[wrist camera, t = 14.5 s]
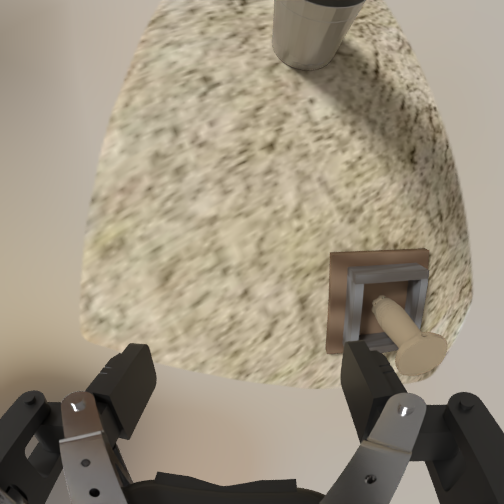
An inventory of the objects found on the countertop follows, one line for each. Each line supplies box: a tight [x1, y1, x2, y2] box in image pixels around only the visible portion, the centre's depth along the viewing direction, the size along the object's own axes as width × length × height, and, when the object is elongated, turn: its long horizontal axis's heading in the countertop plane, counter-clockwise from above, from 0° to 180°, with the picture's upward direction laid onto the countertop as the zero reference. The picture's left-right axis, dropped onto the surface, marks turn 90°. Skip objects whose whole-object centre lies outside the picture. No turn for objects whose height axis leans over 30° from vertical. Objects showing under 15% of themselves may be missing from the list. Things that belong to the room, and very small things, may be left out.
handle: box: [372, 295, 447, 376], centre depth 33 cm, size 5×6×15 cm
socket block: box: [326, 248, 429, 354], centre depth 39 cm, size 16×16×6 cm
